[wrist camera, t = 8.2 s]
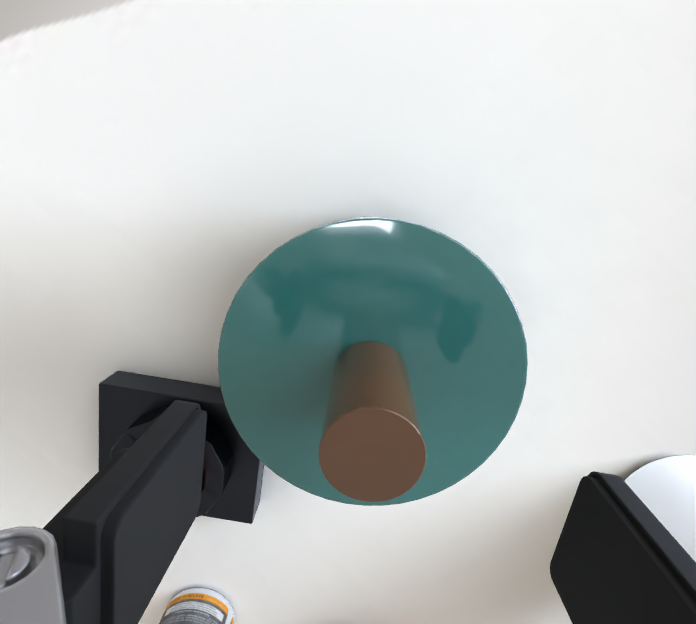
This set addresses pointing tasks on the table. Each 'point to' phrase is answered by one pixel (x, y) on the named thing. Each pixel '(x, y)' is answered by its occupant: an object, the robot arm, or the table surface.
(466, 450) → the lid
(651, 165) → the table surface
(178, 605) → the pill bottle
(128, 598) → the robot arm
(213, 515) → the button housing
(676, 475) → the wine bottle
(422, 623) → the table surface
